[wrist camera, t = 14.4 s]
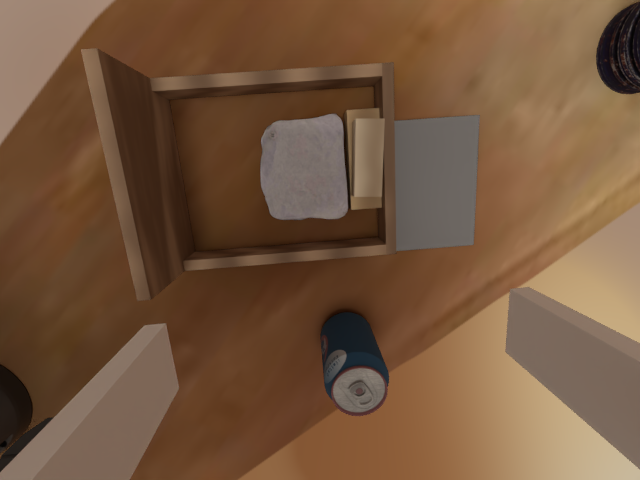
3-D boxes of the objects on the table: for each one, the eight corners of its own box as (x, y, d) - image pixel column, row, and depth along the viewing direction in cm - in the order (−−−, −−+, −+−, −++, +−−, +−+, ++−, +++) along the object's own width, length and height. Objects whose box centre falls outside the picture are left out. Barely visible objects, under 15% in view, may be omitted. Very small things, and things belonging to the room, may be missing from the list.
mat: (390, 251, 40) (390, 251, 40) (387, 121, 37) (388, 121, 36) (472, 244, 41) (473, 244, 40) (478, 115, 37) (479, 114, 37)
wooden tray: (187, 261, 40) (137, 300, 28) (156, 88, 35) (80, 49, 23) (387, 245, 40) (420, 277, 29) (384, 73, 35) (422, 28, 24)
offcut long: (347, 206, 39) (351, 209, 36) (343, 114, 37) (346, 110, 34) (376, 204, 39) (381, 207, 36) (373, 112, 37) (379, 107, 34)
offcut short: (351, 194, 36) (354, 197, 33) (352, 122, 34) (355, 118, 32) (376, 194, 36) (381, 196, 34) (379, 121, 34) (384, 118, 32)
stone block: (275, 220, 40) (352, 215, 39) (263, 227, 36) (349, 220, 34) (263, 125, 38) (344, 114, 36) (248, 119, 33) (340, 106, 32)
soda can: (310, 324, 42) (312, 384, 31) (353, 298, 42) (372, 349, 30) (336, 361, 44) (347, 432, 32) (378, 337, 43) (405, 400, 32)
